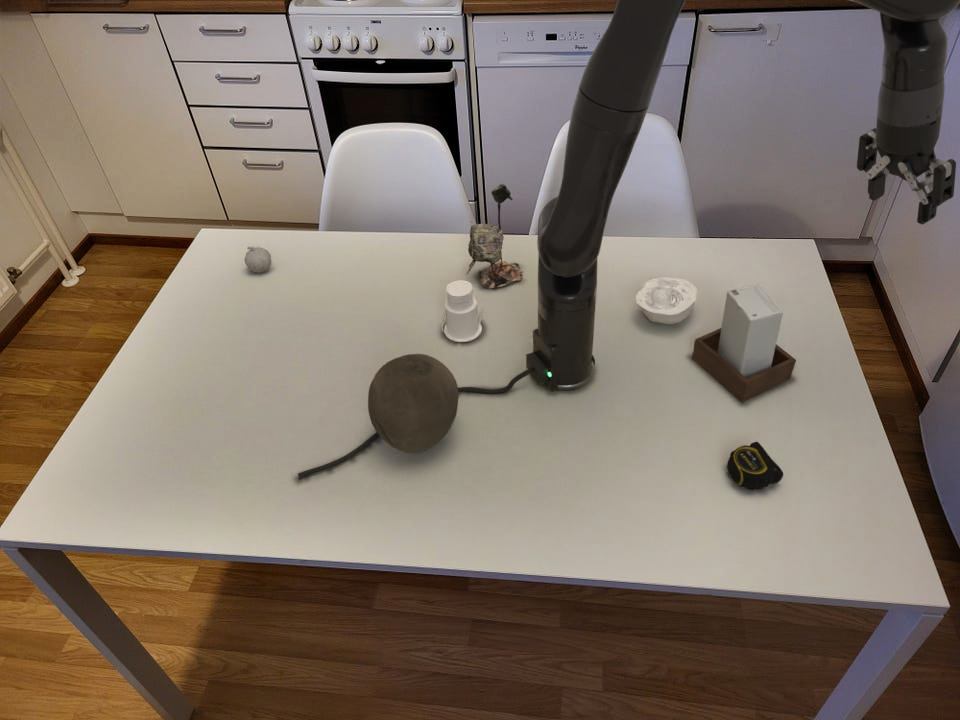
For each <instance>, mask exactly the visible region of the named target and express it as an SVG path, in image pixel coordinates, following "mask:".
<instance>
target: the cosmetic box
mask: <svg viewBox="0 0 960 720" xmlns="http://www.w3.org/2000/svg"><path fill="white" fill-rule="evenodd" d="M723 309H724V310H723V316H722V321H721V322H722V323H721V327H720V328H721V334H720V340H719V346H718V350H717V352H716V353H717V354H719V355H720V356H721V357H722V358H723V359H724V360H726V361H727V362H728V363H729V364H730V365H731V366H733V367H734V368H735V369H736V370H737V371H738V372H740V373H741V374H742V375H743V376H744V377H745V378H747V379H748V378H751V377H753V376H755V375H757V374H759V373H761V372H763V371H765V370H767V369H769V368H771V365H772V360H773V356H774V351H775V346H776V344H777V342H778V337H779V332H780V327H781V323H782V319H783V314H784V311H783V310H782V309H781V308H780V307H779V305H778V304H777V303H776V302H775V301H774V300H773V299H772V298H771V296H770V295H769V294H768V293H767V292H766V291H765V289H763V287H762V286H761V285H760V284H753V285H750V286H745V287H741V288H736V289H733V290H728V291H727V292H726V298H725V303H724V308H723Z"/></svg>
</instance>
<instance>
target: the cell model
mask: <svg viewBox="0 0 960 720" xmlns="http://www.w3.org/2000/svg"><path fill="white" fill-rule="evenodd" d="M697 295H698V288H697V287H696V286H695V285H694V284H693V283H692V282H691V281H689V280H687V279H685V278H684V279H683V278H679V277H678V278H677V277H668V276H661V277H656V278H652V279H649V280H647V281H646V282H645V283H644V285H643V286H642V288H641V289H640V290H638V291H637V293H636V295H635V302H636V303H637V306H638V309H640V310H641V312H643V314H644V315H645V316H646V317H647V319H648V320H649V321H650V322H652V323H658V324H665V325H675V324H678V323H680V322H682V321H684V320H685V319H687V318H688V317H689V316H690V315H691V313H692V311H693V309H694V307H695V304H696V300H697Z"/></svg>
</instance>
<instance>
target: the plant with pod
mask: <svg viewBox="0 0 960 720" xmlns="http://www.w3.org/2000/svg"><path fill="white" fill-rule="evenodd" d="M490 193H491V196H492V198H493V200H494V202H495V203H497V224H498V225H497V224H491V223H476V224H473V225H471V226H470V230H469V243H468V247H467V252H468V255H469V256H470V257H471V259H472V261H471V262H470V264H469V265H468V268H467V270H466V273H465V275H469V273H470V272H471V270H472V269H473V267H474V265H475V264H476V262H478V263H479V262H480V263H489V264H490V265H488V266H487V267H484V268H483V267H482V269H480V270H478V277H479V280H480V283H481V284H482V287H484V288H486V289H494V288H500V287H505V286H506V285H508V284H509V283H513V282H514V281H522V279H523V278H524V277H523V276H524V275H523V272H524V271H522V270H521V267H520V264H519V263H518V262H512V263H508V262H507V261H506V260H505V261H503V255H502V254H503V253H502V250H503V245H504V244H503V242H504V239H505V237H504V231H503V229H502V226H501V206H502V205H501V204H503V203H504V202H505V201H506V200H510V201H513V198H512V196H511V191H510V189H509V188H508V187H507V185H506V184H505V183H500V184H498V185H496V186H495V187H494V188H493V189H492V190H491V192H490ZM472 223H473V221H470V224H472Z"/></svg>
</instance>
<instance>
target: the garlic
mask: <svg viewBox="0 0 960 720" xmlns="http://www.w3.org/2000/svg"><path fill="white" fill-rule="evenodd" d="M246 249H247V250H248V251H246V253H245V256H244V264H245V266H246V267H247V268H248V269H249V270H250V271H252V272H253V273H262V272H266V271H268V270H269V269H270V267H271V265H272V255H271V253H270V252H269V250H268V249H265V248H264V247H260V246H259V247H258V246H256V247H255V246H247V247H246Z"/></svg>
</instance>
